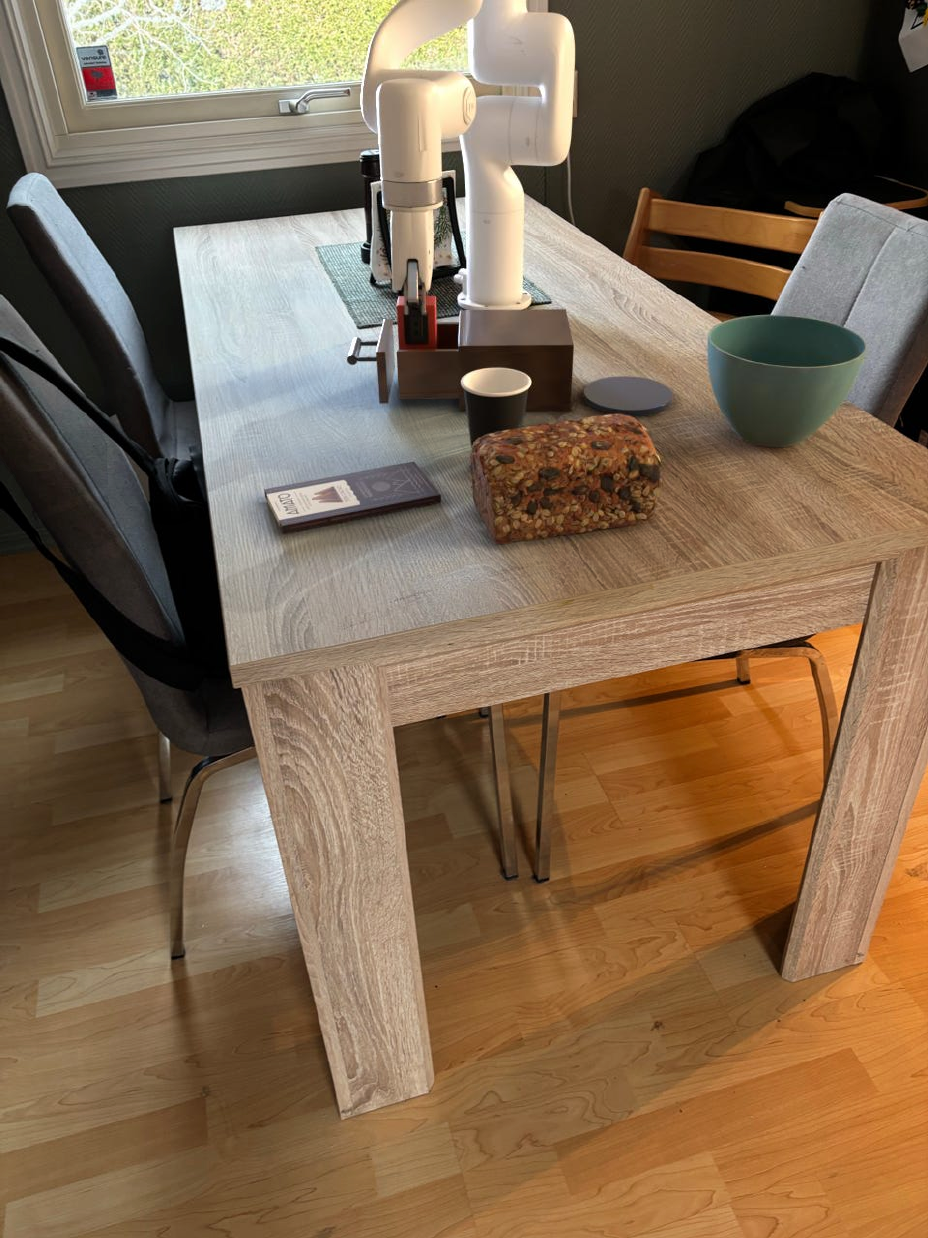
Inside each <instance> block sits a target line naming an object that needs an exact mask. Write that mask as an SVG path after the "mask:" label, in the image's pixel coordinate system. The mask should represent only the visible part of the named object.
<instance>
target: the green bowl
mask: <svg viewBox="0 0 928 1238" xmlns="http://www.w3.org/2000/svg"><path fill="white" fill-rule="evenodd" d="M867 350H868V344H867V341H866V340H865V338H864V337H862V335H860V334H859V333H858V332H856V331H854V330H852V329H850V328H848V327H845V326H843V325H840V324H837V323H834V322H831V321H828V320H823V319H818V318H813V317H806V316H797V315H785V314H760V315H759V314H758V315H749V316H740V317H736V318H735V317H734V318H732V319H728V320H724V321H722V322H719V323H718V324H716V325H714V326H712V328H711V329H709V331H708V333H707V345H706V351H707V352H706V354H707V368H708V375H709V380H710V384H711V388H712V391H713V395H714V398H715V400H716V403H717V406H718V407H719V409H720V411H721V413H722V415H723V417H724V418H725V420H726V421H727V423H728V424H729V426H730V428H731V429H732V430H733V431H734V433H735V434H736V435H737V436H738V437H739V438H740V439H742V440H743V441H745V442H746V443H747V442H748V443H749V444H753V445H755V446H761V447H766V448H788V447H792V446H795V445H799V444H800V443H802V442H804V441H805V440H806V439H808V438H809V437H811V436H812V435H813V434H814V433H815V432H816V431H818V430H819V429H820V428H821V427H822V426H823V425H824V424H826V422H828V421H829V419H830V418H831V417H833V415H834V414H835V413H836V411H837V410H838V409H839V408H840V406H842V404H843V402H844V401H845V399H846V398H847V396H848V394H849V393H850V392H851V390H852V387H853V386H854V384H855V383H856V380H857V378H858V376H859V374H860V371H861V368H862V366H863V363H864V360H865V358H866V357H865V356H866V354H867Z"/></svg>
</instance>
